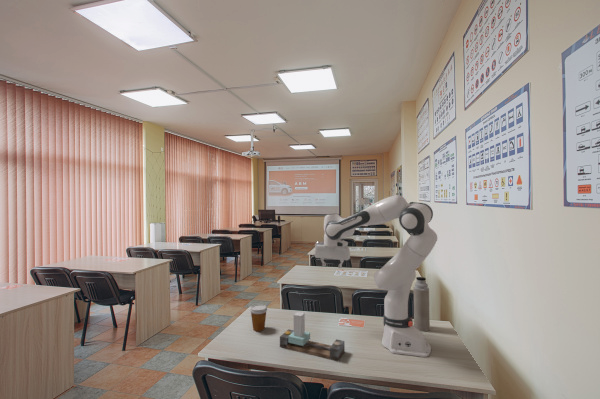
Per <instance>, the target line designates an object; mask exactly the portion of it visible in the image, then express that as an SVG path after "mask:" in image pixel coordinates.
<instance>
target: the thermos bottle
mask: <svg viewBox="0 0 600 399" xmlns="http://www.w3.org/2000/svg"><path fill="white" fill-rule="evenodd" d="M415 280H416V282H415V283H414V286H413V289H412V290H413V326H415V327H416V328H417V329H418V330H419V331H421V332H429V331H430V329H431V328H430V289H429V286H428V283H427V282H426V281H427V279H426V277H423V276H422V277H421V276H417V277H415Z"/></svg>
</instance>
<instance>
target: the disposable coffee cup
mask: <svg viewBox="0 0 600 399" xmlns="http://www.w3.org/2000/svg"><path fill="white" fill-rule="evenodd" d="M249 311H250V316H251V323H252V329H253V331H255V332H262V331H264V330H265V327H266V326H265V325H266V320H267V319H266V317H267V312H268V308H267V305H265V304H255V305H252V306H251V307H250V310H249Z"/></svg>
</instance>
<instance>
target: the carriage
mask: <svg viewBox="0 0 600 399" xmlns="http://www.w3.org/2000/svg"><path fill="white" fill-rule="evenodd" d="M305 315H306V314H305V313H304V312H300V311H297V312H295V313H294V314H293V330H294V332H293V333H291V334H290V335H289V336H288V343H293V344H297V345H301V346H304V345H305V344H306V343H307V342H308V341H310V340H311V332H309V331H306V330H305V329H306V326H305V323H306V321H305V320H306V319H305V318H306V316H305Z"/></svg>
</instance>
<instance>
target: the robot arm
mask: <svg viewBox="0 0 600 399" xmlns="http://www.w3.org/2000/svg"><path fill="white" fill-rule="evenodd" d="M433 216H434V211H433V209H432V207H431V206H430V205H429V204H427V203H423V202H415V201H410V202H409V203H408V202H407V199H406V198H405V197H404V196H402V195H401V194H394V195H391V196H388V197H385V198H383V199H380V200H378V201H376V202H375V203H373V204H371V205H369V206H368V207H366V208H363V209H362V210H361V211H358V212H356V213H355V214H353V215H350V216H348V217H345V218H344V217H341V215H339V214H338V213H329V214H326V215H324V218H323V231H324V235H323V241H317V242H315V243H314V249H315V250H314V257H315V259H320V262H321V264H322V267H326V266H327V262H325V261H324V260H326V259H327V260H338V261H339V262H340V263H339V264H338V268H340V269H342V267H343V266H342V265H343V263H344V261H349V260H350V259H351V253H350V248H349V246H348V245H349V243H348V241H345V240H344V239H345V238H350V237H352V236H353V235H354V234H355V233H356V232H355V231H356V229H357V228H359V227H362V226H363V227H365V226H376V225H383V224H386V223H389V222H391V221H394V220H397V219H398V222H399V225H400V226H401V228H402V229H403V230H405V231H406V232H407V234H408V235H409V237H408V238H407V240H406V241H405V242H404V244H403V245H402V247H401V248H400V249H399V251H398V252H397V253H396V254H395V255H393V257H392V258H391V259H389V260H388V261H387V262H386V263H385V264H384V265H383V266H382V267H380V269H378V270H377V271H376V272H375V273H374V276H373V277H374V278H373V279H374V283H375V285H376V287H377V288H378V289H380V290H382V291H387V294H386V295H385V297H384V299H383V301H384V304H383V305H384V306H383V309H384V310H383V311H384V313H383V317H382V318H383V320H382V321H383V326H384V327H383V334H382V339H381V345H382V347H384V348H386V349H387V350H389V352H390V353H391V354H395V355H396V354H397V355H398V354H399V355H406V356H413V357H422V358H426V357H429V356H430V354H431V351H432V349H431V345H430V344H429V343H428V342H427V341H426V338H425V336H424V333H423V331H419V330H418V329H417V328H416V327H415V326H414V320H413V317H412V316H411V317H410V316H409V297H410V293H411V289H412V286H413V283H414V281H415V280H416V278H417V277H416V276H417V273H416V270H417V269H418V268H419V267H420V266H421V265H422V264H423V262H424V261H425V260H426V258H427V257H428V256H429V255H430V254H431V252H432V250H433V249H434V247H435V245H436V244H437V241H438V234H437V233H436V231H435V230H434V229H432V228H431V227H430V225H429V223H430V222H432V219H433Z"/></svg>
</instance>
